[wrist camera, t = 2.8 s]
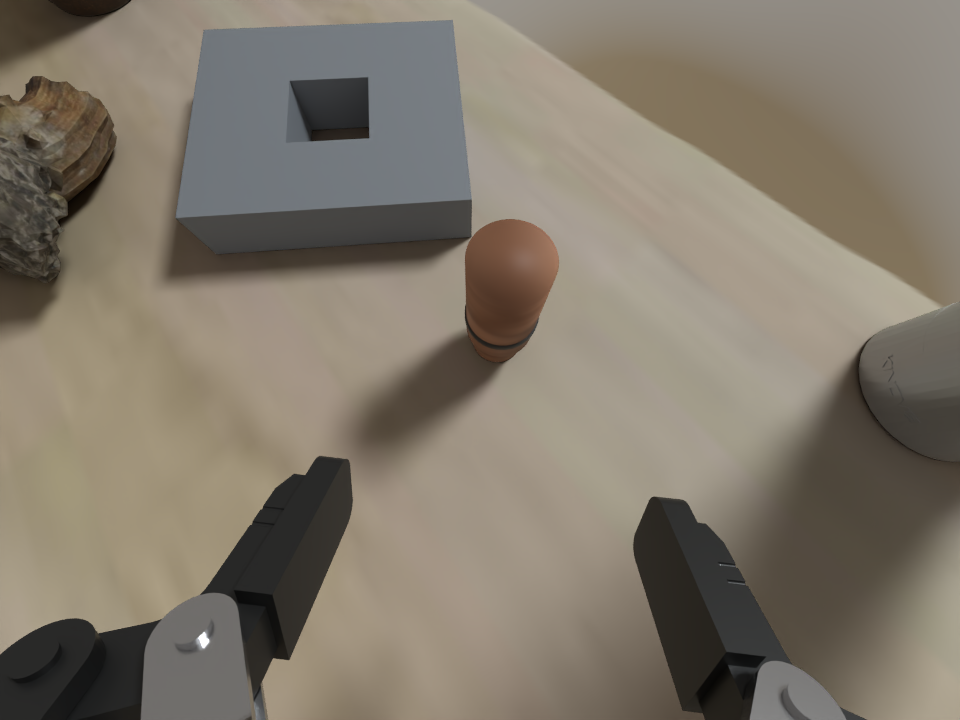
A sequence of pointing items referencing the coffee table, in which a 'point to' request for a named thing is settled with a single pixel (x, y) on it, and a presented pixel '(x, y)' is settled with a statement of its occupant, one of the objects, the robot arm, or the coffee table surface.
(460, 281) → the coffee table surface
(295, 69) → the slate socket board
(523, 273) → the cherry peg
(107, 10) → the plant pot
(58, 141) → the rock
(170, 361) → the coffee table surface
